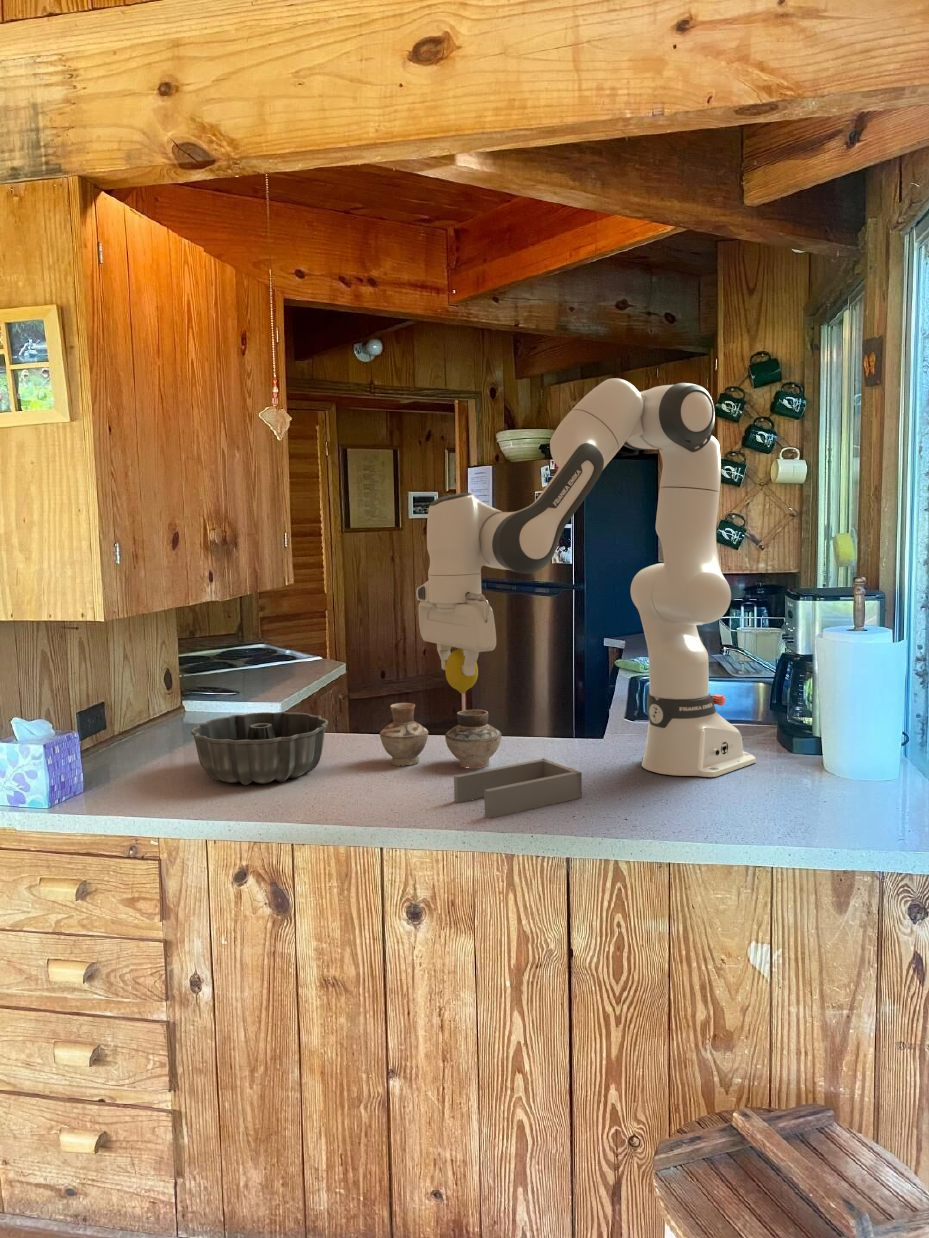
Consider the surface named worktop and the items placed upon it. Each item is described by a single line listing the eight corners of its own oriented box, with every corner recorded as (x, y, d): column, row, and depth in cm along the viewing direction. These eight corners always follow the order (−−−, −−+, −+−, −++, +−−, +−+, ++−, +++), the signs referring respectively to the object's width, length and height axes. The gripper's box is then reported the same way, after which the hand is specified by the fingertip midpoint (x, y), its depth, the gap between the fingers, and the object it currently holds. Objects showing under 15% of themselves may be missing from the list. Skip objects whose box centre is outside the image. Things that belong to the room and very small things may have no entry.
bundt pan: (324, 751, 198) (321, 706, 197) (337, 785, 173) (334, 733, 172) (196, 763, 192) (193, 716, 191) (191, 799, 166) (187, 745, 165)
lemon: (476, 696, 153) (474, 649, 152) (443, 696, 154) (441, 649, 153) (481, 690, 158) (479, 644, 157) (449, 690, 159) (447, 645, 158)
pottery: (390, 755, 193) (387, 699, 192) (507, 758, 188) (505, 701, 186) (372, 770, 182) (370, 710, 181) (496, 773, 177) (494, 712, 175)
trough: (544, 782, 169) (543, 758, 169) (581, 797, 160) (581, 772, 159) (454, 800, 160) (453, 775, 160) (488, 818, 150) (487, 791, 150)
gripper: (504, 593, 146) (507, 678, 148) (442, 587, 164) (445, 663, 165) (470, 596, 143) (473, 683, 145) (411, 589, 161) (414, 667, 162)
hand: (458, 672), depth 155 cm, fingers closed on lemon, 5 cm apart
